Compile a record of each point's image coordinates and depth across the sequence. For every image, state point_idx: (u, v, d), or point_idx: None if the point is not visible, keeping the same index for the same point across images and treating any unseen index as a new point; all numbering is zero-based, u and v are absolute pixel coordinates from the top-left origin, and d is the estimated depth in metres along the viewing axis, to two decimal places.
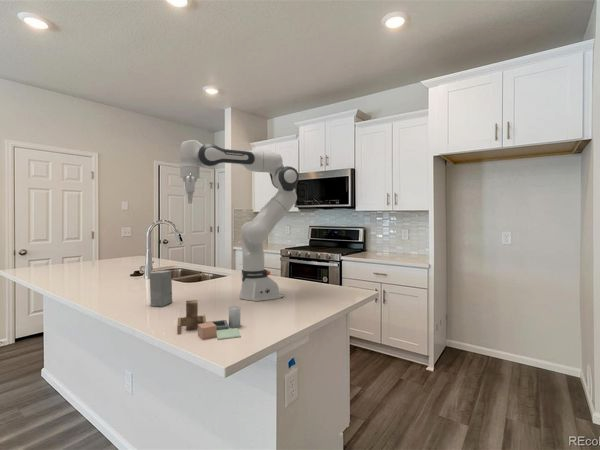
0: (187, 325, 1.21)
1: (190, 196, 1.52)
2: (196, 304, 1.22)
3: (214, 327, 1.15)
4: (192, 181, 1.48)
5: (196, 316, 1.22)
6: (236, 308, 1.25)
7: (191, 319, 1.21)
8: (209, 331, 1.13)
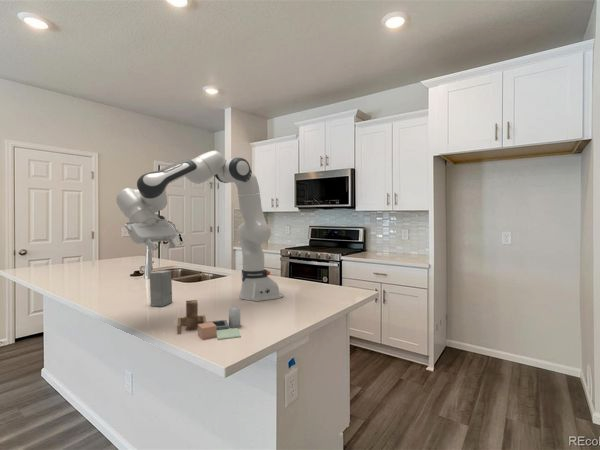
0: (187, 325, 1.21)
1: (148, 243, 1.21)
2: (196, 304, 1.22)
3: (214, 327, 1.15)
4: (132, 229, 1.19)
5: (196, 316, 1.22)
6: (236, 308, 1.25)
7: (191, 319, 1.21)
8: (209, 331, 1.13)
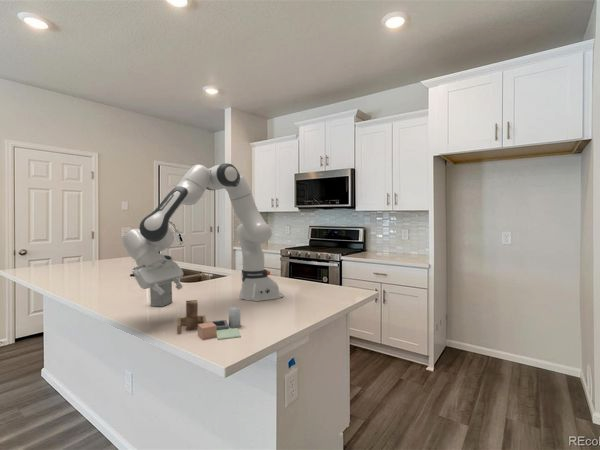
0: (187, 325, 1.21)
1: (155, 288, 1.21)
2: (196, 304, 1.22)
3: (214, 327, 1.15)
4: (139, 275, 1.19)
5: (196, 316, 1.22)
6: (236, 308, 1.25)
7: (191, 319, 1.21)
8: (209, 331, 1.13)
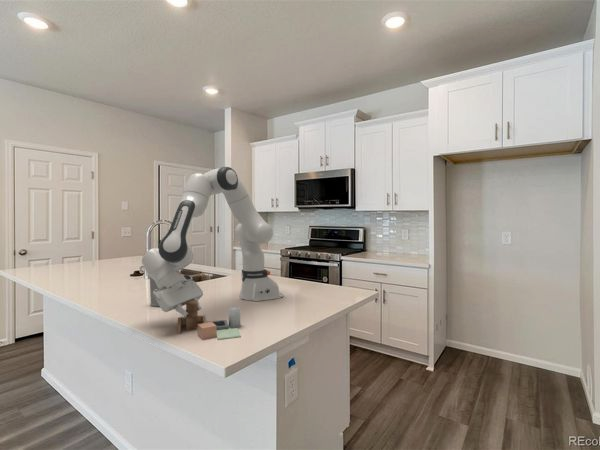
0: (187, 325, 1.21)
1: (179, 310, 1.19)
2: (196, 304, 1.22)
3: (214, 327, 1.15)
4: (161, 297, 1.16)
5: (196, 316, 1.22)
6: (236, 308, 1.25)
7: (191, 319, 1.21)
8: (209, 331, 1.13)
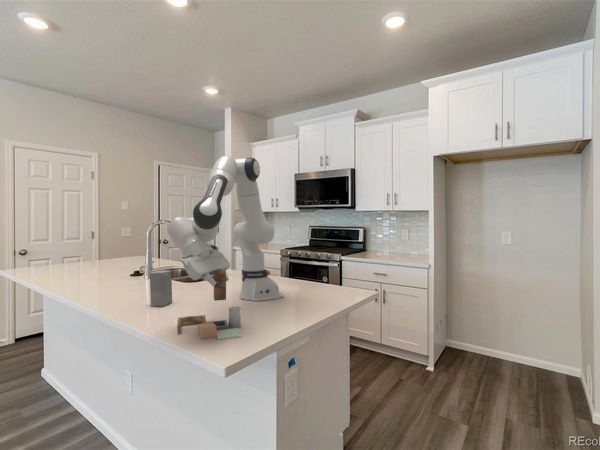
0: (215, 295, 1.15)
1: (208, 279, 1.13)
2: (224, 273, 1.16)
3: (214, 327, 1.15)
4: (189, 265, 1.10)
5: (224, 286, 1.16)
6: (236, 308, 1.25)
7: (219, 289, 1.16)
8: (209, 331, 1.13)
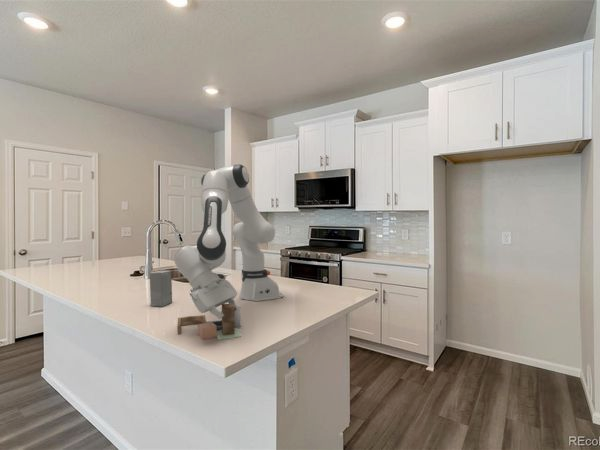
0: (224, 330, 1.15)
1: (214, 312, 1.11)
2: (233, 308, 1.15)
3: (214, 327, 1.15)
4: (197, 298, 1.09)
5: (233, 320, 1.16)
6: None
7: (228, 323, 1.15)
8: (209, 331, 1.13)
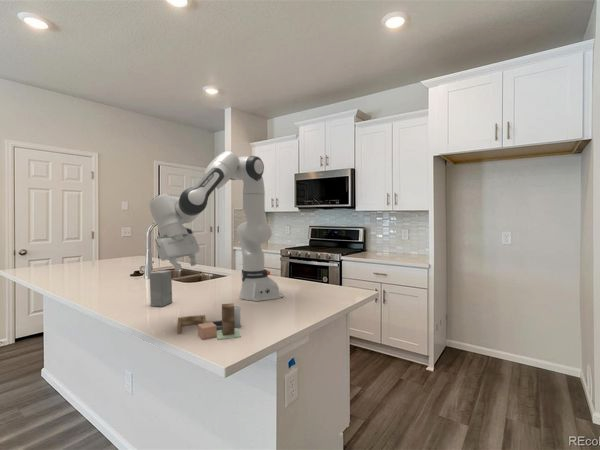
0: (224, 330, 1.15)
1: (173, 262, 1.20)
2: (233, 308, 1.15)
3: (214, 327, 1.15)
4: (161, 245, 1.17)
5: (233, 320, 1.16)
6: (236, 308, 1.25)
7: (228, 323, 1.15)
8: (209, 331, 1.13)
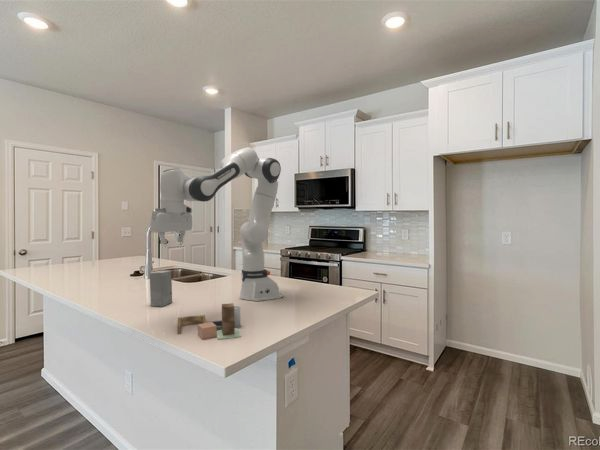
0: (224, 330, 1.15)
1: (161, 236, 1.27)
2: (233, 308, 1.15)
3: (214, 327, 1.15)
4: (155, 219, 1.24)
5: (233, 320, 1.16)
6: (236, 308, 1.25)
7: (228, 323, 1.15)
8: (209, 331, 1.13)
